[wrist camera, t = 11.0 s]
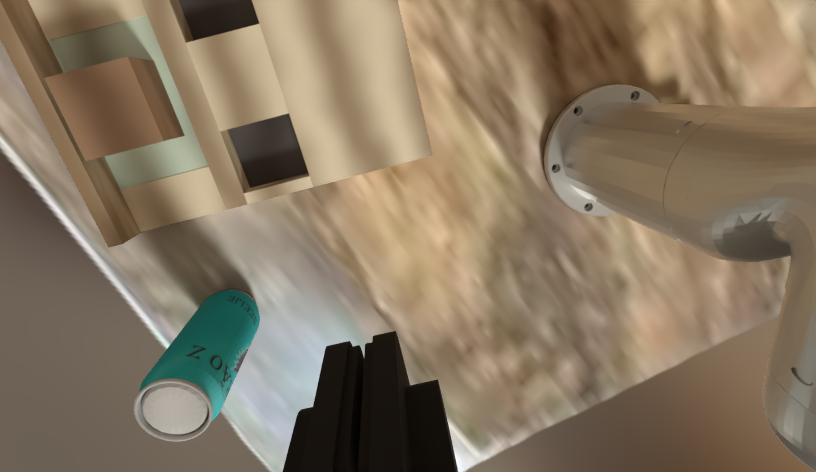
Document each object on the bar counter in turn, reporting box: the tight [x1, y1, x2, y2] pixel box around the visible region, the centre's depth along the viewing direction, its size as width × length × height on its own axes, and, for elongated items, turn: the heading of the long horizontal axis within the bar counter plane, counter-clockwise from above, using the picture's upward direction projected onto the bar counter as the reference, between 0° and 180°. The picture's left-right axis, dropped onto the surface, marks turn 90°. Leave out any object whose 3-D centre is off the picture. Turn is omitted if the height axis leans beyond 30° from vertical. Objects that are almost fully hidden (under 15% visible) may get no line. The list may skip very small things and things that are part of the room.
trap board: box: [0, 0, 432, 247], centre depth 35 cm, size 28×20×6 cm
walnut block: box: [44, 57, 185, 161], centre depth 33 cm, size 6×6×4 cm
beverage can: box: [134, 289, 260, 441], centre depth 37 cm, size 6×6×15 cm
